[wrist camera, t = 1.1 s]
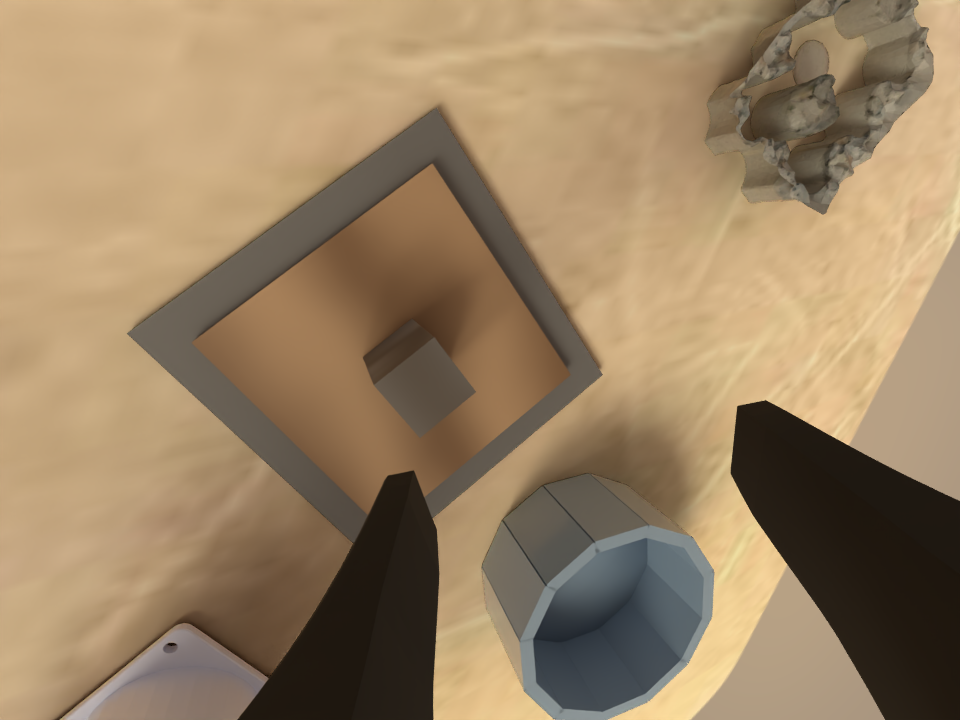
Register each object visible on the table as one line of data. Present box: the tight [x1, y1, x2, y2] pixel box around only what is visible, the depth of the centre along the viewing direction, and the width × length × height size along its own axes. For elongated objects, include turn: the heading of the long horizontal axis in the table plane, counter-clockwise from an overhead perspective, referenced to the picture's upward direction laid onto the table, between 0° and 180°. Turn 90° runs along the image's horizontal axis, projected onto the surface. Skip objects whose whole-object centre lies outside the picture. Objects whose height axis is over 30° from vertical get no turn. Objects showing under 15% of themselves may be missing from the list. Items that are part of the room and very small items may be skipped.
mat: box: [127, 108, 603, 543], centre depth 21 cm, size 14×14×1 cm
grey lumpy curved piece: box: [705, 0, 934, 214], centre depth 22 cm, size 11×8×4 cm
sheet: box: [191, 164, 571, 515], centre depth 18 cm, size 11×11×5 cm
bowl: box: [482, 473, 714, 720], centre depth 24 cm, size 10×10×5 cm
